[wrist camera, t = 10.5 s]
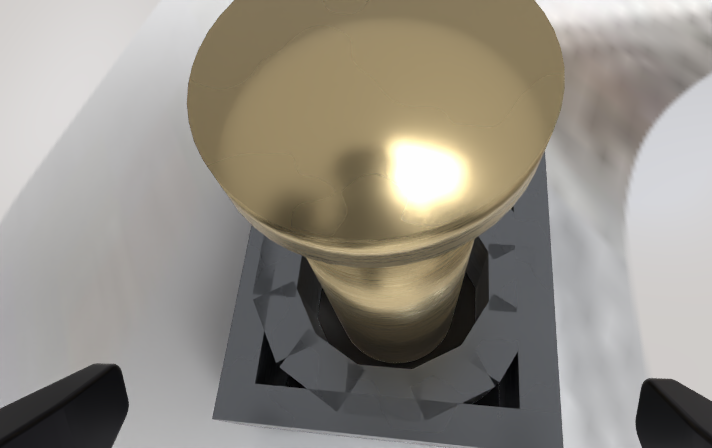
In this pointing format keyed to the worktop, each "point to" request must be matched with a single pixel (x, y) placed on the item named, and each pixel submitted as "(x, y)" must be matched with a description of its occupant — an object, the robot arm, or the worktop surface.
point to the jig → (398, 385)
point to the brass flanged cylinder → (378, 142)
